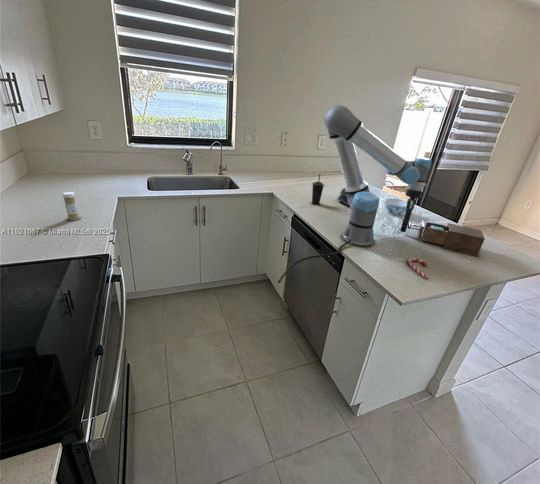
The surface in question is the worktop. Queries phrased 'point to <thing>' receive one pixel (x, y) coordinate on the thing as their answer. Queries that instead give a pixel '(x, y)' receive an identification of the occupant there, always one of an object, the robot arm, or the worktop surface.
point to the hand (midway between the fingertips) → (402, 231)
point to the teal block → (436, 227)
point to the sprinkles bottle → (70, 205)
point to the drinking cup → (317, 192)
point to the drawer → (431, 232)
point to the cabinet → (464, 239)
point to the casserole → (343, 197)
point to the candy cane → (415, 267)
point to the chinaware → (396, 206)
